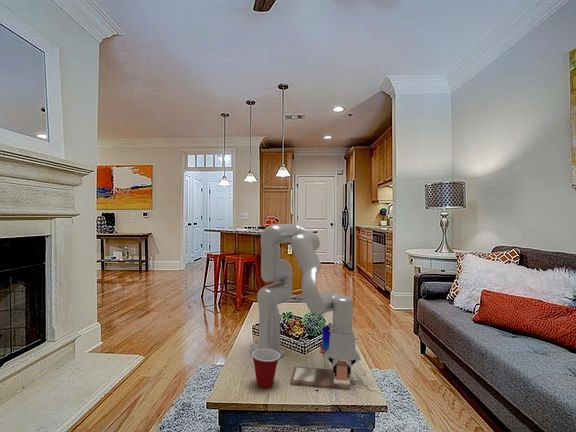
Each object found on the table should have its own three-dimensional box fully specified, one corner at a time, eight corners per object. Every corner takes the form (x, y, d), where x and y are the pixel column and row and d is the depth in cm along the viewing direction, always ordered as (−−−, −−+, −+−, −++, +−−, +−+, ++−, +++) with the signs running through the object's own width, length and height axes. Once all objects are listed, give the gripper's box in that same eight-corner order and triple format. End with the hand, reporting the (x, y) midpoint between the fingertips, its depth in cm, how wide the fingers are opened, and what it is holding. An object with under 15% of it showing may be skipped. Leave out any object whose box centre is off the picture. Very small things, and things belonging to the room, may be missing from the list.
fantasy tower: (345, 353, 159) (345, 327, 159) (320, 354, 158) (320, 328, 158) (339, 343, 171) (340, 319, 170) (316, 344, 170) (316, 319, 169)
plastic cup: (282, 391, 126) (282, 358, 126) (252, 393, 124) (252, 360, 124) (277, 376, 137) (278, 346, 136) (250, 378, 135) (250, 348, 134)
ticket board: (290, 384, 130) (290, 380, 130) (294, 368, 143) (294, 365, 143) (349, 390, 127) (349, 385, 127) (348, 373, 140) (348, 369, 140)
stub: (333, 383, 129) (333, 368, 129) (334, 371, 139) (334, 357, 139) (350, 385, 128) (350, 370, 128) (349, 372, 138) (349, 358, 138)
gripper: (320, 330, 131) (319, 378, 131) (365, 333, 128) (364, 382, 129) (321, 323, 138) (320, 369, 139) (364, 326, 136) (363, 372, 136)
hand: (341, 374), depth 134 cm, fingers closed on stub, 4 cm apart
